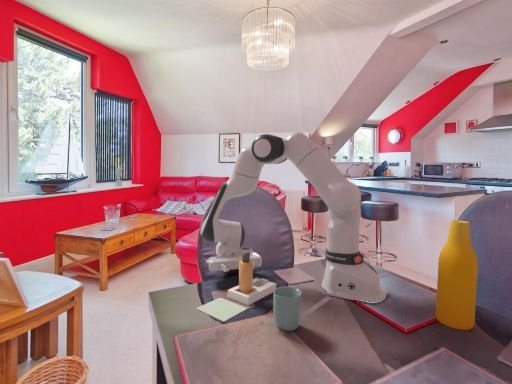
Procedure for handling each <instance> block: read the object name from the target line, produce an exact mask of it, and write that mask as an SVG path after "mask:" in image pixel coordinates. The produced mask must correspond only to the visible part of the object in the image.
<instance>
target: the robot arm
mask: <svg viewBox="0 0 512 384" xmlns="http://www.w3.org/2000/svg"><path fill="white" fill-rule="evenodd" d="M287 160H290V162H291V163H293V165H294V166H295V168H297V170H298V171H299V172H300V173H301V174H302V175H303V176H304V177H305V178H306V179H307V181H308V182H309V184H311V186H312V187H313V189H314V190H315V191H316V193H317V194H318V196H319V198H321V200H322V201H323V202H324V203H325V205H326V206H327V208H328V209H329V214H328V215H329V216H328V222H327V227H326V229H327V232H326V233H327V235H326V237H327V239H326V248H325V257H324V258H325V268H324V274H323V280H322V283H321V287H322V289H323V290H324V291H326V294H327V295H328V296H332V297H335V298H340V299H345V300H351V301H354V299H357V300H363V301H368V302H377V301H380V300H382V299H384V298H385V297H386V295H387V296H388V291H386V290H387V289H386V288H384V289H385V290H384V289H383V287H381V281H380V277H379V275H378V274H377V273H376V272H375V271H374V270H373V269H371V268H370V267H369V266H368V264H366V263H365V262H364V261H365V259H364V258H365V257H366V253H363V254H362V253H361V251H360V249H359V246H360V245H359V242H360V240H359V239H360V237H359V236H360V219H361V206H362V205H361V203H362V202H361V201H362V193H361V190H360V187H359V186H358V185H356V184H355V183H354V182H351V181H349V180H348V179H347V177H346V176H345V175H344V174H343V173H342V172H341V170H340V169H339V168H338V167H337V166H336V164H335V163H334V162H333V160H332V159H331V158H330V157H329V156H328V155H327V154H326V153H325V152H324V151H323V150H322V149H321V148H320V147H319V145H317V143H316V142H314V141H313V140H312V139H311V138H310V137H308V136H307V135H306V134H305V133H303V132H301V131H300V132H299V131H295V132H293V133H291V134H289V135H288V136H287V137H286V138H283V137H280V136H278V135H276V134H275V135H274V134H268V133H266V134H261V135H258V136H256V137H255V138H254V139H253V141H252V143H251V146H247V147H243V148H242V149H241V150H240V152H239V153H238V156H237V158H236V161H235V163H234V166H233V170H232V174H231V175H230V177H229V179H228V180H226V181H223V182H222V184H221V185H220V186H219V188H218V190H217V192H216V194H215V196H214V199H213V201H212V203H211V206H210V208H209V210H208V212H207V214H206V217H204V220H203V222H202V223H201V227H200V233H199V235H200V237H201V238H202V239H203V240H204V241H205V242H207V243H217V244H216V245H215V253H216V256H210V257H209V258H208V259H206V260H205V262H206V264H207V265H208V271H210V272H219V271H223V272H224V273H229V272H230V270H231V271H233V270H239V261H240V260H242V252H250V260H252V261H253V270H255V268H259V267H261V266H262V261H263V259H262V256H261V255H260V254H259V253H258V252H255V251H253V249H252V248H248V247H247V248H246V247H243V246H244V243H245V239H246V230H245V227H244V226H243V224H242V223H241V222H239V221H233V220H225V219H220V218H219V216H220V213H221V211H222V209H223V207H224V205H225V203H226V202H227V201H229V200H230V199H234V198H238V197H244V196H247V195H249V194H251V193H253V192H254V191H255V190H256V188H257V186H258V184H259V179H260V177H261V172H262V168H263V167H264V166H265V165H270V164H271V165H275V164H276V165H277V164H279V165H280V164H282V163H284V162H286V161H287ZM382 291H386V292H382ZM386 298H387V297H386ZM376 299H378V300H376Z"/></svg>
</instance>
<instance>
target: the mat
mask: <svg viewBox="0 0 512 384" xmlns="http://www.w3.org/2000/svg"><path fill="white" fill-rule="evenodd" d="M195 309H196V310H197V311H199V312H201V313H203V314H206V315H207V316H210V317H211V318H214V319H216V320H218V321H221V322H223V323H225V322H227V321H229V320H230V319H233V318H234V317H236V316H238V315H239V314H240V315H241V314H242V313H243V312H245V311H247V310H248V307H245V306H242V305H240V304H237V303H234V302H232V301H230V300H228V299H224V298H222V297H218V298H216V299H214V300H211V301H209V302H207V303H204V304H203V305H201V306H198V307H196V308H195Z"/></svg>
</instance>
